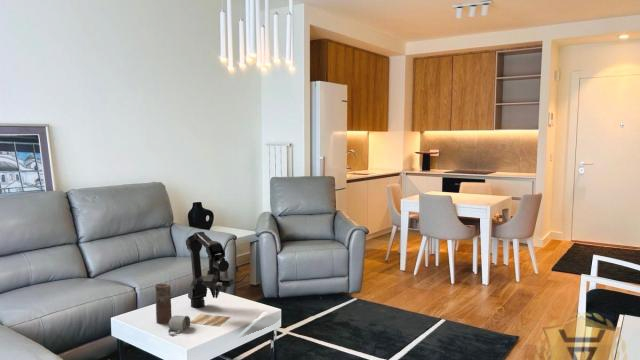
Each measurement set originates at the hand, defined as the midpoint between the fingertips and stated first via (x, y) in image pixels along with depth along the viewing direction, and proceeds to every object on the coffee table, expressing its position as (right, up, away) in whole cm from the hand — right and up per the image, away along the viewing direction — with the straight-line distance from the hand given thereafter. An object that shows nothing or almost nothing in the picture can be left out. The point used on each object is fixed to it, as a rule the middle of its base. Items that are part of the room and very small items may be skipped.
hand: (215, 297), depth 242 cm
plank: (-7, -12, 0) cm, 14 cm away
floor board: (+1, -12, -3) cm, 12 cm away
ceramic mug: (-15, -13, -14) cm, 24 cm away
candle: (-25, -12, -3) cm, 28 cm away
